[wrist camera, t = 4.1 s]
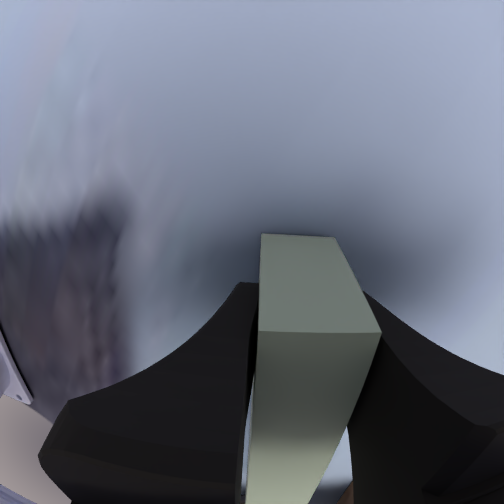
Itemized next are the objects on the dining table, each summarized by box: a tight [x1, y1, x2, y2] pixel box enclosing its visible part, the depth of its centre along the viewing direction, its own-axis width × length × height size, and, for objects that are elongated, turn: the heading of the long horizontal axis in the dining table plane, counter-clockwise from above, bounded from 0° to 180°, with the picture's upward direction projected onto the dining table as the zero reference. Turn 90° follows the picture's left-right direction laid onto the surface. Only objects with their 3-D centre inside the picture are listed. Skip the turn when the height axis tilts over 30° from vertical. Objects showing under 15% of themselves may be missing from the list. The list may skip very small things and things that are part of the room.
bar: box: [245, 233, 382, 504], centre depth 11 cm, size 2×16×5 cm, turn 178°
